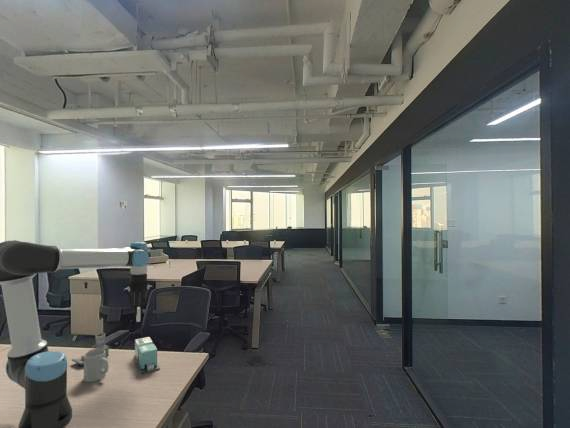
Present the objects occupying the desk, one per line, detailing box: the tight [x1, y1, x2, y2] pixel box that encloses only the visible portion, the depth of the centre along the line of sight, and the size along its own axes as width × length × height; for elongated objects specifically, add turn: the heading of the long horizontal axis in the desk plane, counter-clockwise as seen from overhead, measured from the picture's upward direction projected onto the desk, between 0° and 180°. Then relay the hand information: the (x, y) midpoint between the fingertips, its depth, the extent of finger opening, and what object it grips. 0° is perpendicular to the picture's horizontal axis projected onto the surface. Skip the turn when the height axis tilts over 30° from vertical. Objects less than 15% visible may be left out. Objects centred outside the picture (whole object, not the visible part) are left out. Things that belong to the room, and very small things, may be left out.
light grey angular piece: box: [133, 336, 161, 375], centre depth 155 cm, size 22×8×9 cm, turn 34°
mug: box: [83, 349, 109, 383], centre depth 140 cm, size 12×8×11 cm
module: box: [139, 343, 158, 369], centre depth 151 cm, size 8×7×8 cm
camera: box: [71, 332, 109, 366], centre depth 158 cm, size 9×12×15 cm
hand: (138, 320), depth 153 cm, fingers closed
